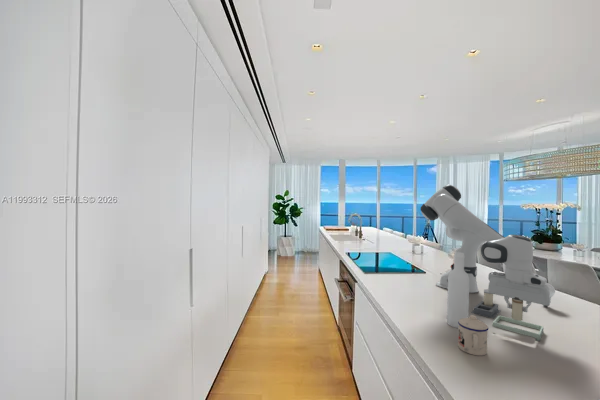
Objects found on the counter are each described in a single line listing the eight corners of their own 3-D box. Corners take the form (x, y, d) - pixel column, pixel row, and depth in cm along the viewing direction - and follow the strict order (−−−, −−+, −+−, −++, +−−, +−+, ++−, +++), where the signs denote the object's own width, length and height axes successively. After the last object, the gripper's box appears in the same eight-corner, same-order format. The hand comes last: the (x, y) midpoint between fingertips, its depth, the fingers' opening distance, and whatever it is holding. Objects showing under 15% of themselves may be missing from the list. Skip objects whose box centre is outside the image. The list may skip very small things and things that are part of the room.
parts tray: (492, 328, 120) (492, 322, 120) (498, 320, 128) (498, 315, 128) (539, 341, 110) (539, 334, 110) (543, 332, 118) (543, 326, 118)
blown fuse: (510, 318, 119) (511, 296, 119) (512, 316, 122) (513, 294, 122) (521, 321, 116) (522, 298, 116) (523, 319, 119) (524, 296, 119)
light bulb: (557, 309, 144) (558, 285, 144) (541, 308, 146) (542, 284, 146) (549, 304, 151) (549, 281, 151) (533, 303, 153) (534, 280, 153)
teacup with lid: (456, 341, 108) (457, 309, 108) (484, 346, 105) (485, 313, 105) (459, 356, 97) (460, 321, 97) (492, 363, 94) (493, 326, 94)
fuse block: (470, 314, 135) (470, 306, 135) (479, 307, 145) (479, 300, 145) (493, 320, 128) (494, 312, 128) (501, 312, 138) (501, 305, 138)
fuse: (482, 309, 139) (483, 290, 139) (484, 307, 142) (485, 288, 141) (491, 311, 136) (492, 292, 136) (493, 309, 139) (494, 290, 139)
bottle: (442, 322, 125) (444, 251, 125) (456, 319, 128) (458, 250, 128) (458, 330, 118) (460, 254, 118) (472, 327, 121) (474, 254, 121)
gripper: (486, 271, 124) (485, 304, 124) (550, 282, 110) (548, 319, 110) (490, 269, 129) (489, 301, 129) (551, 279, 114) (550, 315, 114)
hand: (517, 309), depth 119 cm, fingers closed on blown fuse, 4 cm apart
